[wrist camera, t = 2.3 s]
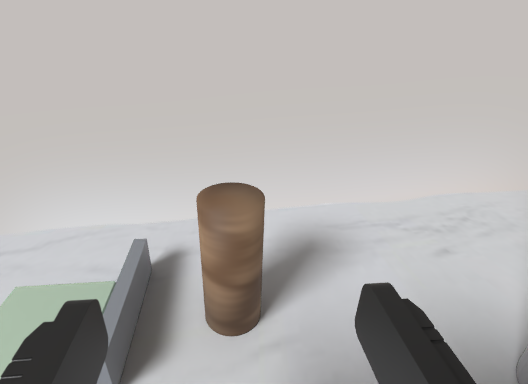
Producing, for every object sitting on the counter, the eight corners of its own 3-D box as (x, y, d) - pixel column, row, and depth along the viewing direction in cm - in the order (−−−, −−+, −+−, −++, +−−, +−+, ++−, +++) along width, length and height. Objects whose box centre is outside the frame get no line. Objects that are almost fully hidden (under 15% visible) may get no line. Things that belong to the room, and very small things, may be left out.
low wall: (151, 269, 33) (146, 238, 31) (115, 395, 22) (104, 359, 20) (140, 270, 33) (134, 239, 31) (97, 397, 22) (84, 360, 20)
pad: (115, 284, 31) (114, 281, 31) (80, 372, 23) (78, 368, 23) (17, 290, 30) (15, 287, 30) (-56, 384, 22) (-59, 380, 22)
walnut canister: (257, 290, 31) (260, 181, 26) (263, 333, 27) (269, 213, 21) (206, 293, 30) (198, 183, 25) (204, 338, 26) (193, 216, 21)
